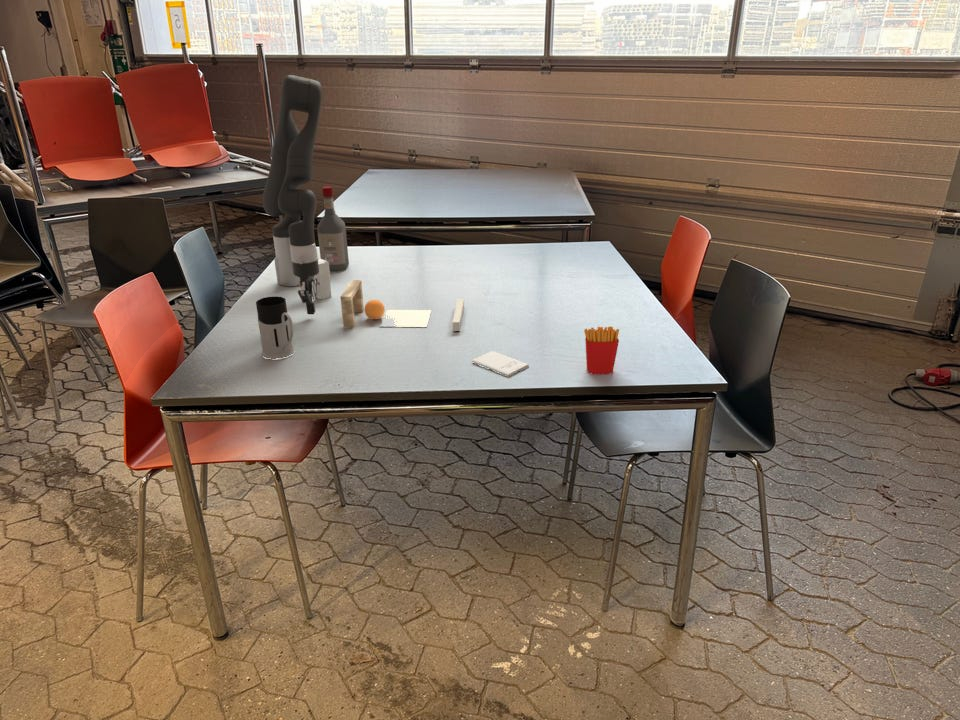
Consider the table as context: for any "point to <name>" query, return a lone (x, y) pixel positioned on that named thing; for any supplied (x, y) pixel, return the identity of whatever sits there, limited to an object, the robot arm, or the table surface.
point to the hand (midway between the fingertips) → (311, 313)
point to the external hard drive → (500, 363)
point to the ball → (374, 309)
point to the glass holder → (275, 327)
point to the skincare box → (323, 280)
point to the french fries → (601, 349)
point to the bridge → (351, 302)
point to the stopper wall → (458, 315)
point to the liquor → (332, 235)
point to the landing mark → (409, 317)
